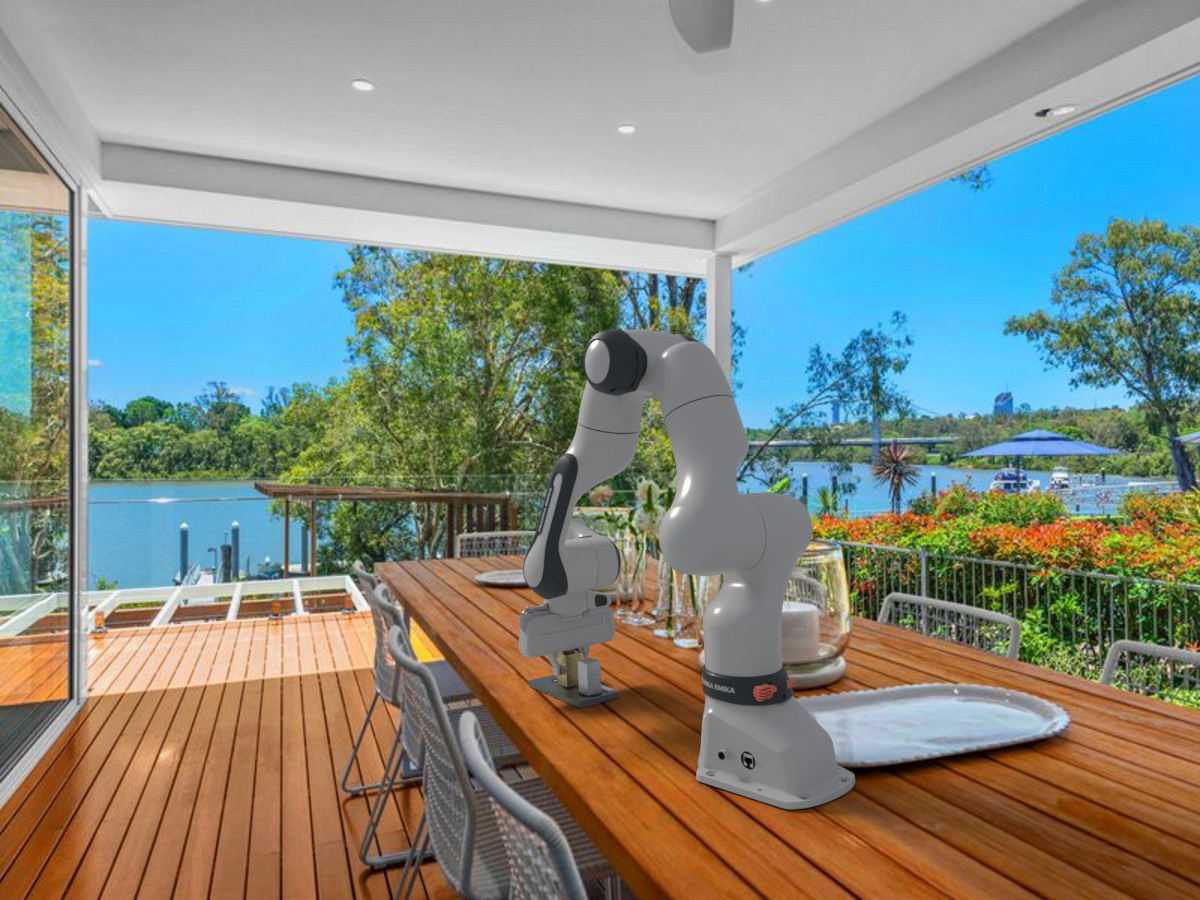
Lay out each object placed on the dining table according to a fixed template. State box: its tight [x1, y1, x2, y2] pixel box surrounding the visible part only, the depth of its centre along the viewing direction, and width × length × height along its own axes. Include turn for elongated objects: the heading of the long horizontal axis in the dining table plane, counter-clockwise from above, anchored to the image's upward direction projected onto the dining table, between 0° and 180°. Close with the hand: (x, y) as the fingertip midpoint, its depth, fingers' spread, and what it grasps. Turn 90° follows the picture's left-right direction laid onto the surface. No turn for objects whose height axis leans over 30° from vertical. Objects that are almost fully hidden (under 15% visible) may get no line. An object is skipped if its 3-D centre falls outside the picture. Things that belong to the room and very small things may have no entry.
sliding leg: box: [556, 649, 582, 687], centre depth 152 cm, size 4×4×7 cm
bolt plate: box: [528, 657, 620, 709], centre depth 152 cm, size 18×9×7 cm, turn 35°
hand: (569, 672), depth 152 cm, fingers closed on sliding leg, 3 cm apart
